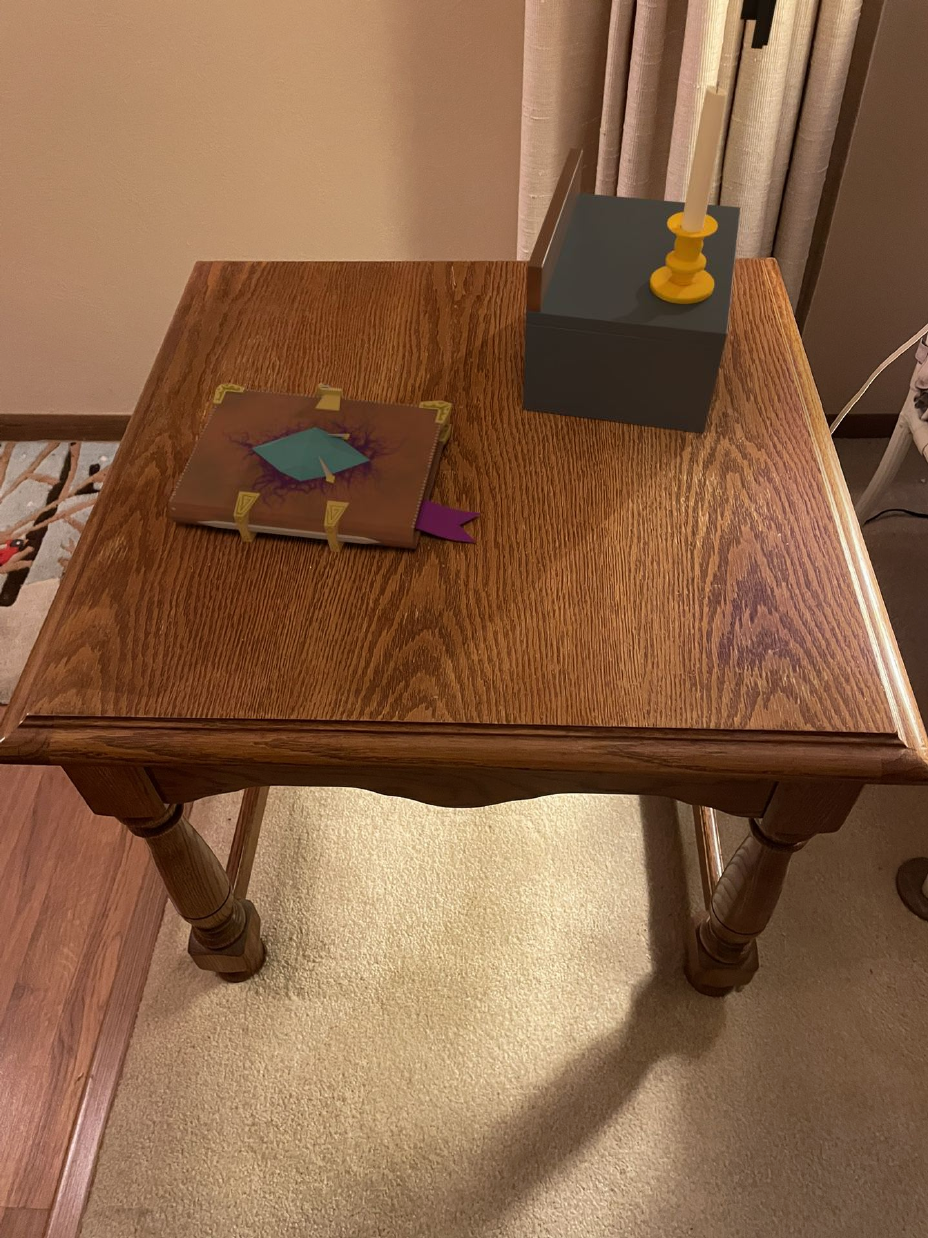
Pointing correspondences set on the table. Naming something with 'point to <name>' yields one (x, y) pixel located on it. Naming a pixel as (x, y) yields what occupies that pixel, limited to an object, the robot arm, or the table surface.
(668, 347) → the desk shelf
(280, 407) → the book
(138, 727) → the table surface
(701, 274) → the candle
